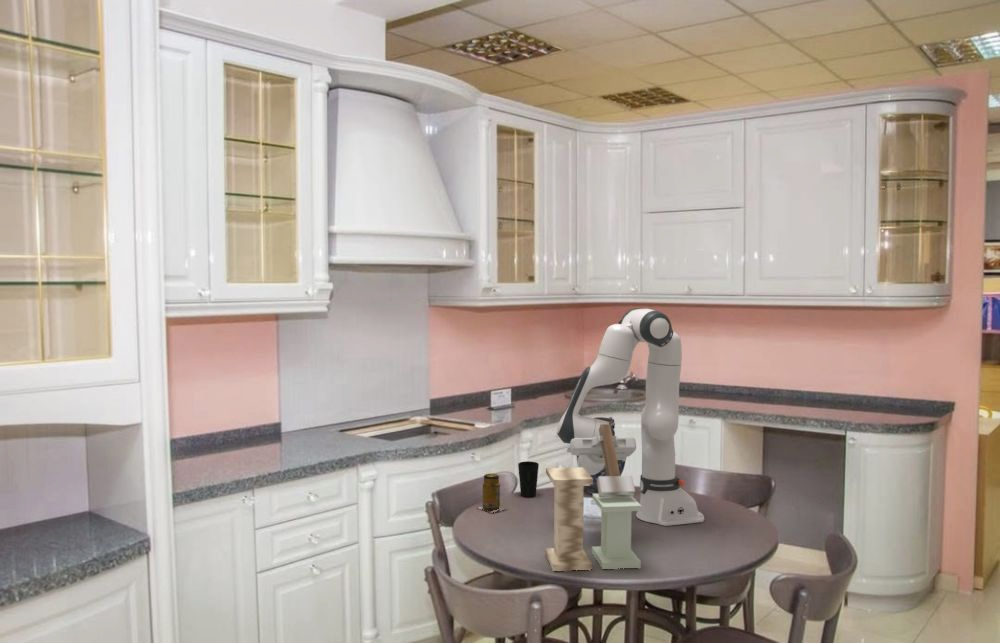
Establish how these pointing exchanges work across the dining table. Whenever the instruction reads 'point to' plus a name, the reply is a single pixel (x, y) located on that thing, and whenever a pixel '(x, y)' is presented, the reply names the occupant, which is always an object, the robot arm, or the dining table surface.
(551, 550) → the pedestal tall
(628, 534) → the pedestal low
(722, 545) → the dining table surface
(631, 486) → the mallet
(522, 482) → the cup
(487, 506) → the condiment
